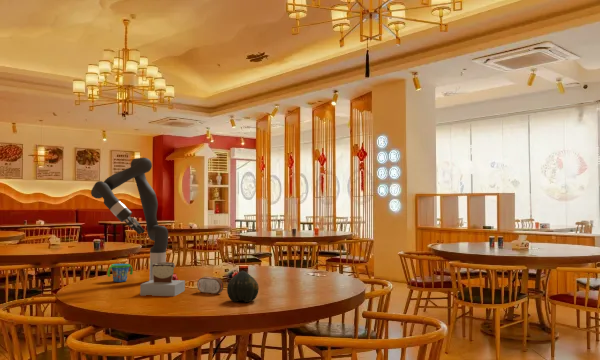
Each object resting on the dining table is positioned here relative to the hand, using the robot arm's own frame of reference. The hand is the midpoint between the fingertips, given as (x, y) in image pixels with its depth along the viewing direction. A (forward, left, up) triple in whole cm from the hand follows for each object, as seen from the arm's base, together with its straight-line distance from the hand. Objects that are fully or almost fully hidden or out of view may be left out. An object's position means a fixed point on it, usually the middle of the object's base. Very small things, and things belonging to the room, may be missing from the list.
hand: (142, 232), depth 277 cm
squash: (+37, +55, -31) cm, 73 cm away
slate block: (+11, +13, -31) cm, 36 cm away
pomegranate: (-10, +14, -31) cm, 35 cm away
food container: (+10, +14, -25) cm, 31 cm away
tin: (+14, +38, -31) cm, 51 cm away
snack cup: (-31, -18, -31) cm, 47 cm away
